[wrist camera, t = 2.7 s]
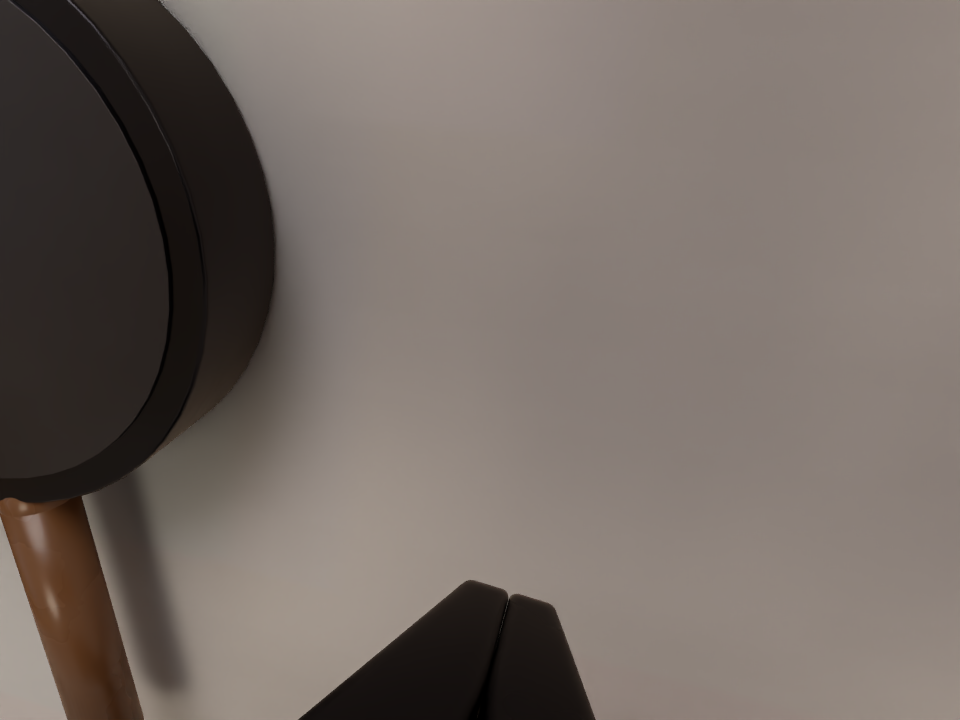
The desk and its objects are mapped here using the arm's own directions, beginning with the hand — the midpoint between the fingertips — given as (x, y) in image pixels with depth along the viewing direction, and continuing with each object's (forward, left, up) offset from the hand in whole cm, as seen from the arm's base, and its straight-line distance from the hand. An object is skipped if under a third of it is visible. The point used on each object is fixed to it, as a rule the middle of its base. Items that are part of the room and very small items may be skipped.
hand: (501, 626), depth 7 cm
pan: (-1, +10, -7) cm, 12 cm away
